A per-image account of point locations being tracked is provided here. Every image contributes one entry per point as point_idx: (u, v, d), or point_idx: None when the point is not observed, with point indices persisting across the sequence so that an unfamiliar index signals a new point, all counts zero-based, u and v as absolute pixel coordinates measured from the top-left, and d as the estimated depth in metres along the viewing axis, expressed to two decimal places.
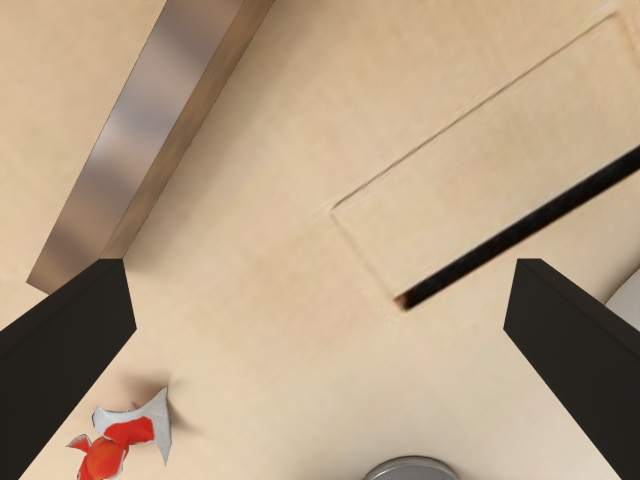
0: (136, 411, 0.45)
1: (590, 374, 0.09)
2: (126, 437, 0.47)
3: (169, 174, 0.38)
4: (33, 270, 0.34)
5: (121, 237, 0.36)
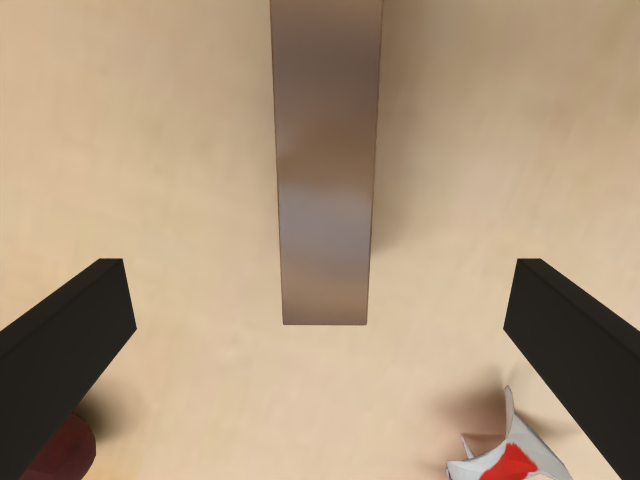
0: (504, 441, 0.28)
1: (590, 373, 0.09)
2: None
3: None
4: (285, 298, 0.20)
5: None
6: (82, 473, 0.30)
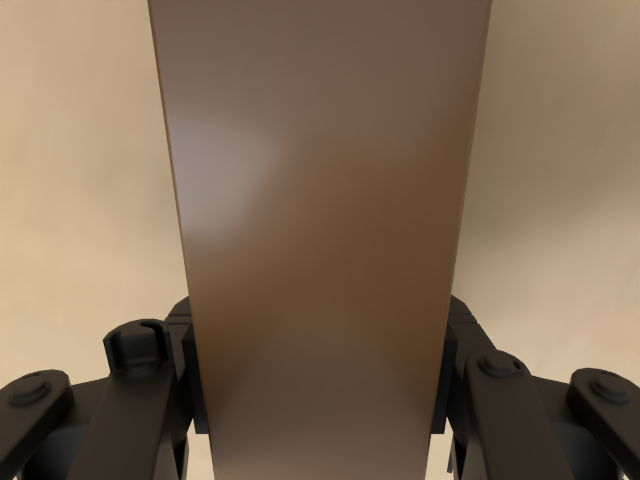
0: None
1: None
2: None
3: None
4: None
5: None
6: None
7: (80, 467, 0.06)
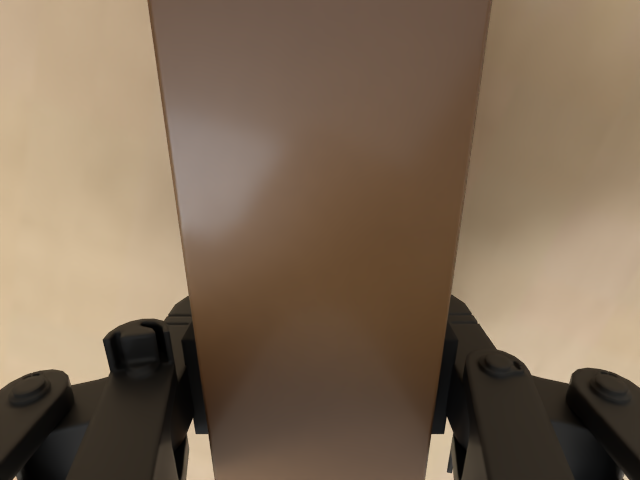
0: None
1: None
2: None
3: None
4: None
5: None
6: None
7: (80, 467, 0.06)
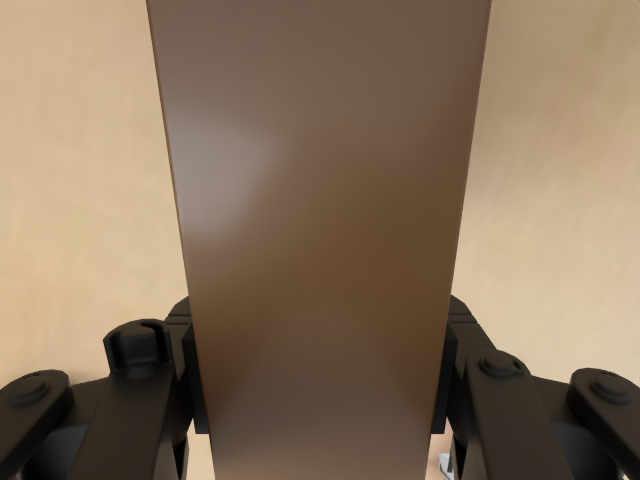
0: None
1: None
2: None
3: None
4: None
5: None
6: None
7: (80, 467, 0.06)
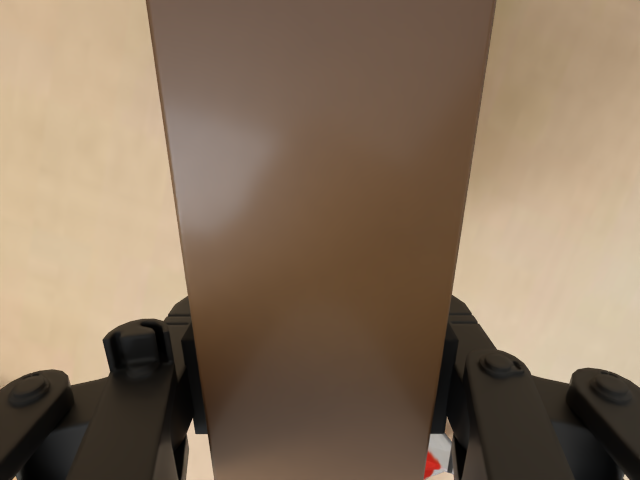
0: None
1: None
2: None
3: None
4: None
5: None
6: None
7: (80, 467, 0.06)
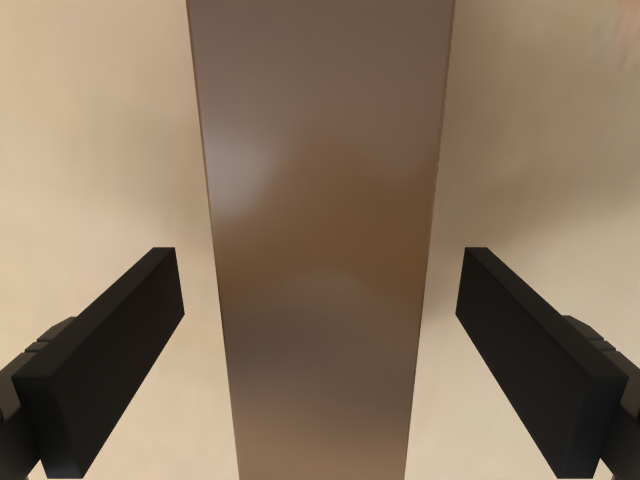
0: None
1: (513, 348, 0.10)
2: None
3: None
4: None
5: None
6: None
7: None
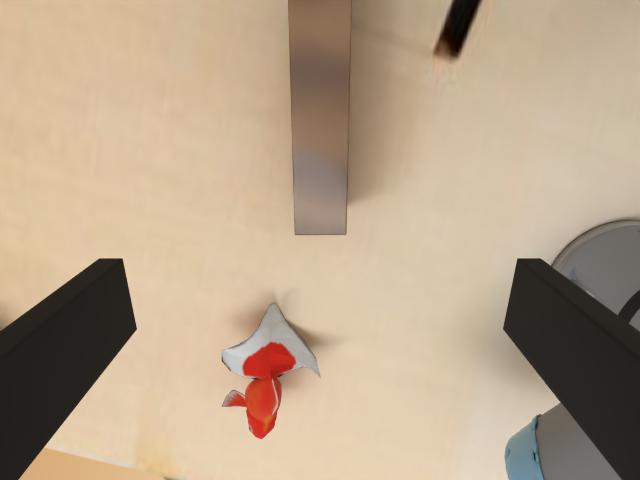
0: (257, 335, 0.41)
1: (589, 373, 0.09)
2: (268, 370, 0.43)
3: None
4: (296, 217, 0.32)
5: None
6: None
7: None
